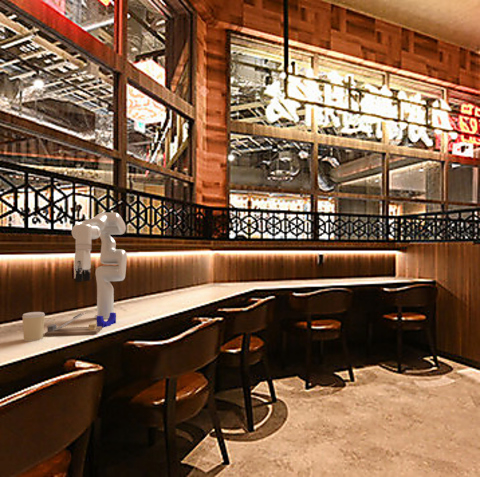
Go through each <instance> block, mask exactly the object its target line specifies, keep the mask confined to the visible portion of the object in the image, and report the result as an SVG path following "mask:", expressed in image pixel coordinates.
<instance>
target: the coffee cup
mask: <svg viewBox="0 0 480 477" xmlns="http://www.w3.org/2000/svg"><path fill="white" fill-rule="evenodd" d="M21 317H22V329H23V341H25V342H35V341H40V339H41V340H42V339H43V338H44V330H45V329H44V328H45V317H46V314H45V312H43V311H31V312H26V313H23V314H22V316H21Z"/></svg>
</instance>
